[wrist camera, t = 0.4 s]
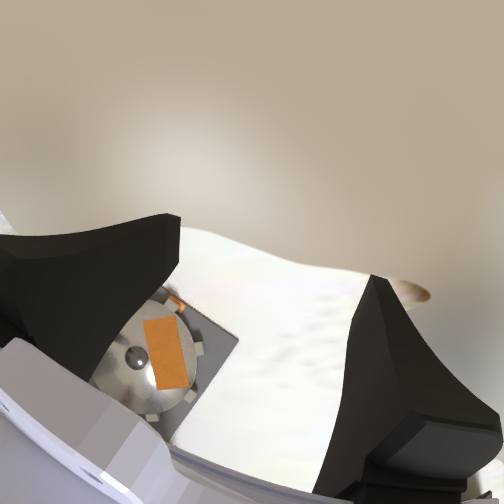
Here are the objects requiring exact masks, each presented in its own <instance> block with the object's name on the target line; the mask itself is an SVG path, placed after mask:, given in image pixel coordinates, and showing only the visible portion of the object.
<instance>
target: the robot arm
mask: <svg viewBox="0 0 504 504" xmlns="http://www.w3.org/2000/svg"><path fill="white" fill-rule="evenodd" d="M180 222H181V217H178V216H175V215H171V214H168V213H166V214H158V215H153V216H149V217H145V218H141V219H137V220H133V221H129V222H125V223H121V224H117V225H113V226H108V227H104V228H100V229H95V230H90V231H84V232H78V233H70V234H60V235H48V236H16V235H3V234H0V504H499V499H497V498H491V499H472V500H466V501H463V502H461V493H463V492H465V491H466V489H467V478H469V477H470V476H472V475H473V474H474V473H476V472H477V471H479V470H480V469H481V468H483V467H484V466H486V465H487V464H488V463H489V462H491V461H492V460H493V459H494V458H495V457H496V456H497V454H498V453H499V451H500V450H501V448H502V445H503V442H504V441H503V435H502V428H501V423H500V416H499V414H498V413H496V412H495V411H494V410H493V409H491V408H490V407H489V406H487V405H486V404H485V403H484V402H482V401H481V400H480V399H478V398H477V397H476V396H475V395H473V393H471V392H470V391H469V390H468V389H467V388H466V387H465V386H464V385H463V384H462V383H461V382H460V381H459V380H457V378H456V377H455V376H454V375H453V374H452V373H451V372H450V371H449V370H448V369H447V368H446V367H445V366H444V365H443V363H442V362H441V361H440V360H439V359H438V358H437V356H436V355H435V354H434V352H433V351H432V350H431V349H430V347H429V346H428V345H427V343H426V342H425V341H424V339H423V338H422V336H421V335H420V333H419V332H418V330H417V329H416V327H415V326H414V324H413V323H412V321H411V320H410V318H409V316H408V315H407V313H406V311H405V309H404V308H403V306H402V304H401V302H400V301H399V299H398V297H397V295H396V293H395V292H394V290H393V288H392V286H391V285H390V283H389V281H388V280H387V279H385V278H382V277H378V276H375V275H372V274H371V275H370V278H369V280H368V283H367V285H366V288H365V290H364V293H363V295H362V297H361V300H360V302H359V304H358V307H357V309H356V311H355V313H354V316H353V318H352V322H351V327H350V331H349V336H348V341H347V350H346V360H345V371H344V380H343V389H342V396H341V402H340V407H339V411H338V415H337V419H336V422H335V426H334V430H333V433H332V437H331V440H330V443H329V447H328V450H327V453H326V456H325V459H324V462H323V465H322V467H321V470H320V473H319V476H318V478H317V481H316V484H315V486H314V489H313V491H312V493H308V492H304V491H300V490H296V489H292V488H288V487H285V486H281V485H277V484H274V483H271V482H267V481H264V480H261V479H258V478H255V477H252V476H249V475H246V474H243V473H240V472H237V471H234V470H231V469H229V468H226V467H223V466H221V465H218V464H216V463H213V462H211V461H208V460H206V459H203V458H201V457H198V456H196V455H194V454H191V453H189V452H187V451H184V450H182V449H180V448H178V447H176V446H173V445H171V444H169V443H167V442H165V441H164V440H163V438H162V437H161V435H160V434H159V433H158V432H157V431H156V430H155V429H154V428H152V427H151V426H150V425H149V424H148V423H147V422H146V421H145V420H144V419H143V418H142V417H140V416H139V415H137V414H136V413H134V412H133V411H131V410H130V409H128V408H127V407H125V406H124V405H122V404H121V403H120V402H118V401H117V400H115V399H113V398H111V397H110V396H108V395H106V394H105V393H103V392H101V391H99V390H98V389H96V388H95V387H93V386H91V385H90V384H88V382H89V380H90V378H91V376H92V375H93V373H94V371H95V370H96V368H97V366H98V364H99V363H100V361H101V359H102V358H103V356H104V355H105V353H106V352H107V350H108V348H109V347H110V345H111V344H112V342H113V341H114V339H115V338H116V337H117V335H118V334H119V333H120V331H121V330H122V328H123V327H124V326H125V324H126V323H127V322H128V321H129V320H130V318H131V317H132V316H133V315H134V314H135V313H136V312H137V311H138V310H139V309H140V308H141V307H142V306H143V305H144V304H145V302H146V301H147V300H148V299H149V298H150V297H151V296H152V295H153V294H154V293H155V292H156V291H157V290H158V289H159V288H160V287H161V286H162V285H163V284H164V282H165V281H166V280H167V279H168V277H169V276H170V275H171V273H172V272H173V270H174V269H175V267H176V266H177V265H178V263H179V244H180Z"/></svg>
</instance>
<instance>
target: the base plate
mask: <svg viewBox="0 0 504 504" xmlns="http://www.w3.org/2000/svg"><path fill="white" fill-rule="evenodd" d="M149 299H150V300H154V301H157V302H159V303H162V304H165V303H166V301H167V300H168V299H172V300H173V301H174V302H176V303H177V304H178V305H180V306H181V307H180V309H179V310H178V312H177V314H178V315H179V316H180V317H181V318H182V320H183V321H184V322H185V323H186V325H187V326H188V328H189V330H190V331H191V333H192V336H193V338H194V340H195V342H200V341H204V346H205V351H206V354H205V355H200V356H198V368H197V374H196V378H195V381H194V383H193V386H192V387H193V388H194V389H196V390H197V391H199V392H198V393H197V395H196V396H195V398H194V399H193V401H192V402H191V403H189V402H187V401H186V400H184V398H183V399H182V400H181V401H180V402H179V403H178V404H177V405H175V406H174V407H172V408H171V409H169V410H166V411H164V412H161V413H160V415H161V419H160V420H159V421H153V422H147V420H146V416H145V414H138V413H136V414H137V415H139V416H140V417H142V418H143V419H144V420H145V421H146V422H147V423H148V424H149V425H150V426H151V427H152V428H154V429H155V430H156V431H157V432H158V433H159V434H160V435H161V437H162V438H163V440H164V441H165V442H168V441H169V439H170V438H171V437H172V435H173V434H174V432H175V431H176V430H177V428H178V427H179V426H180V424H181V423H182V421H183V420H184V419H185V417H186V416H187V415H188V413H189V412H190V410H191V409H192V408H193V406H194V405H195V403H196V402H197V401H198V399H199V398H200V396H201V395H202V393H203V392H204V391H205V389H206V388H207V386H208V385H209V384H210V382H211V381H212V379H213V378H214V376H215V375H216V374H217V372H218V371H219V369H220V368H221V366H222V365H223V363H224V362H225V361H226V359H227V358H228V356H229V355H230V353H231V352H232V350H233V349H234V347H235V346H236V345H237V343H238V342H239V340H237V339H236V338H234V337H233V336H231V335H230V334H228V333H227V332H225V331H224V330H222V329H221V328H219V327H218V326H216V325H215V324H213V323H212V322H210V321H209V320H208V319H206V318H205V317H203V316H202V315H200V314H199V313H197V312H196V311H195V310H193V309H192V308H190V307H189V306H188V305H186V304H185V303H183V302H182V301H181V300H179V299H178V298H176V297H175V296H174V295H172V294H171V293H170V292H168V291H167V290H165V289H164V288H163V287H160V288H159V289H158V290H157V291H156V292H155V293H154V294H153V295H152V296H151V297H150V298H149ZM88 384H90V385H91V386H93V387H95V388H96V389H98V390H99V391H101V390H100V389H99V387H98V386H97V384H96V383H95V381H94V379H93V377H92V376H91V378H90V380H89V382H88ZM192 387H191V388H192ZM101 392H102V391H101Z"/></svg>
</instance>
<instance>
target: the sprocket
mask: <svg viewBox="0 0 504 504" xmlns="http://www.w3.org/2000/svg"><path fill="white" fill-rule="evenodd" d="M180 307H181V306H180V305H178V304H177V303H176V302H174V301H173V300H172V299H168V300H167V301H166V303H165V304H162V303H159V302H157V301H154V300H150V299H148V300H147V301H146V302H145V304H144V305H143V306H142V307H141V308H140V309H139V310H138V311H137V312H136V313H135V314H134V315H133V316H132V317H131V318H130V320H129V321H128V322H127V323H126V324H125V326H124V327H123V328H122V330H121V331H120V333H119V334H118V335H117V337H116V338H115V339H114V341H113V342H112V344H111V345H110V347H109V348H108V350H107V352H106V353H105V355H104V356H103V358H102V359H101V361H100V363H99V364H98V366H97V368H96V370H95V371H94V373H93V375H92V377H93V379H94V381H95V383H96V384H97V386H98V387H99V389H100V390H101V391H102V392H103V393H105V394H106V395H108V396H110V397H111V398H113V399H115V400H117V401H118V402H120V403H121V404H122V405H124V406H125V407H127V408H128V409H130V410H131V411H133V412H134V413H138V414H145V416H146V420H147V422H153V421H159V420H160V419H161V415H160V413H161V412H164V411H166V410H169V409H171V408H172V407H174V406H175V405H177V404H178V403H179V402H180V401H181V400H182V399H183V398H184V400H186V401H187V402H189V403H191V402H192V401H193V399H194V398H195V396H196V395H197V393H198V392H199V391H197V390H196V389H194V388H193V387H192V386H193V383H194V381H195V378H196V374H197V368H198V356H200V355H205V354H206V351H205V346H204V341H200V342H195V340H194V338H193V336H192V333H191V331H190V330H189V328H188V326H187V325H186V323H185V322H184V321H183V320H182V318H181V317H180V316H179V315H178V314H177V312H178V310H179V309H180ZM191 387H192V388H191Z"/></svg>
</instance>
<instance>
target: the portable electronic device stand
mask: <svg viewBox="0 0 504 504" xmlns="http://www.w3.org/2000/svg"><path fill="white" fill-rule="evenodd" d="M491 498H492V492H491V491H488V492H486V493H484V494H483V495H481V496H479V497H478V498H476V499H491Z"/></svg>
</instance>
